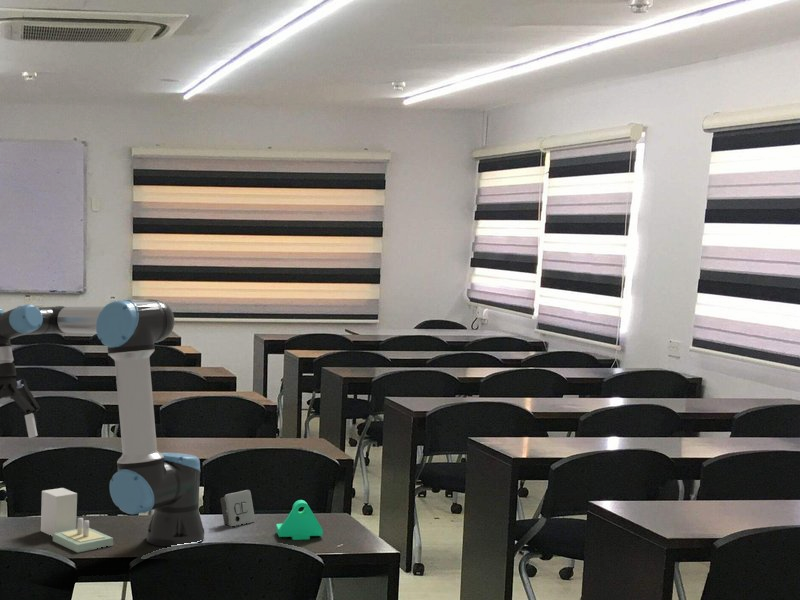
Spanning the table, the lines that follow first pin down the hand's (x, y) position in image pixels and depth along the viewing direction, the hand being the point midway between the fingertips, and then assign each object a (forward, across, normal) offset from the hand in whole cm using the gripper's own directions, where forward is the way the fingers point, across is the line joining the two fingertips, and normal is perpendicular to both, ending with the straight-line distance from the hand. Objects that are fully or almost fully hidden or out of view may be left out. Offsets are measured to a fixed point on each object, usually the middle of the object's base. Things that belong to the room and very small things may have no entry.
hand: (14, 440), depth 274 cm
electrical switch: (+37, -37, +39) cm, 66 cm away
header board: (+31, +1, +19) cm, 36 cm away
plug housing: (+27, -2, +7) cm, 28 cm away
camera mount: (+44, -37, +59) cm, 82 cm away
